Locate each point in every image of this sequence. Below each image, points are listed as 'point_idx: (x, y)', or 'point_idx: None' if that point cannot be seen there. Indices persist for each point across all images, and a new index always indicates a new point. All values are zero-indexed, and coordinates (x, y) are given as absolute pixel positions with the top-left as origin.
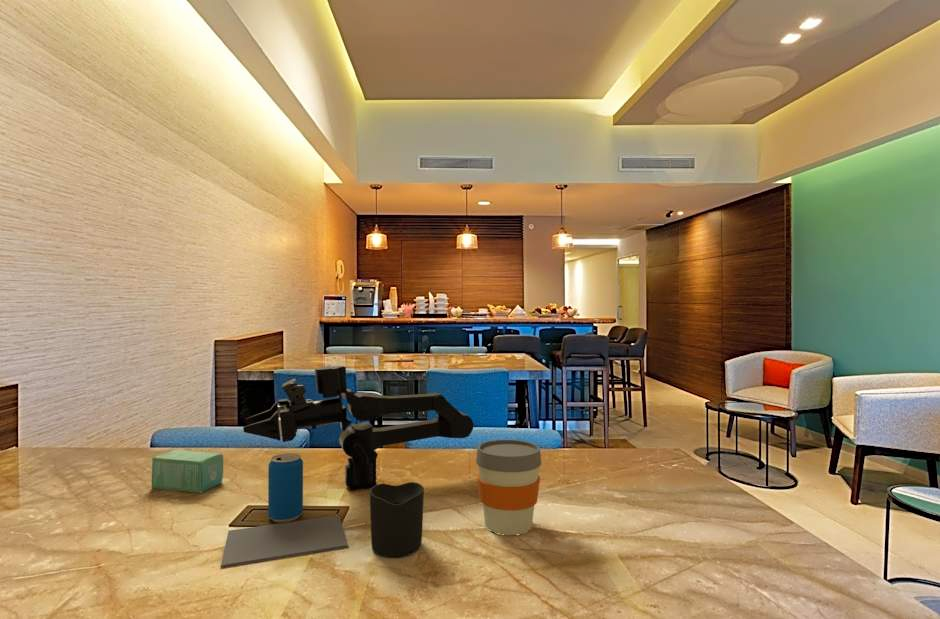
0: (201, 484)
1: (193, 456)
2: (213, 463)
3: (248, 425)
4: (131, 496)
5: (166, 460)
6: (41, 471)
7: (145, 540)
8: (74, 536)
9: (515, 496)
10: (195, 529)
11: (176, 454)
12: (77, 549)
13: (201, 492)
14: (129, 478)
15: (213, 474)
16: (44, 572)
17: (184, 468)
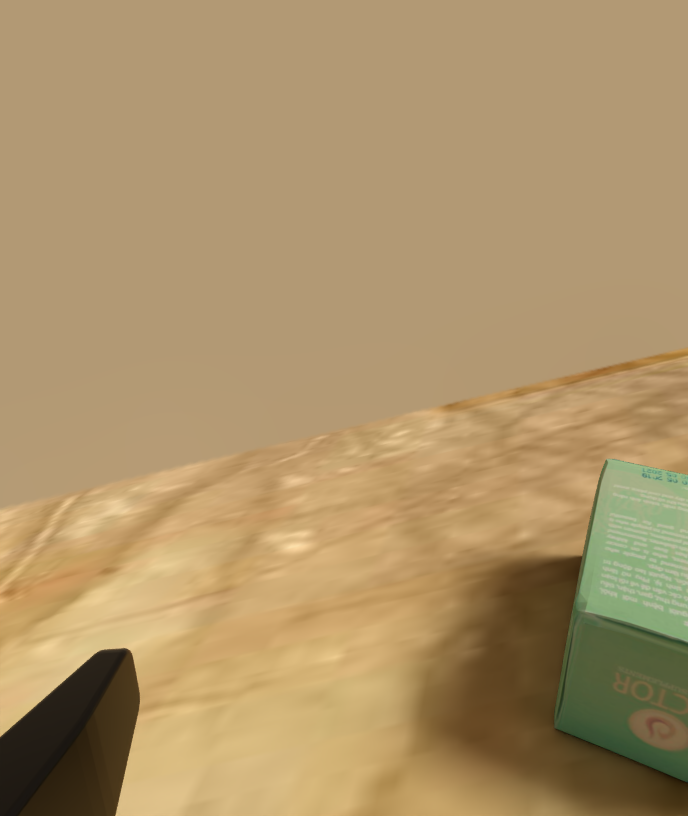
0: (559, 699)
1: (662, 560)
2: (677, 677)
3: (66, 694)
4: (512, 529)
5: (596, 496)
6: (668, 378)
7: (92, 653)
8: (241, 510)
9: None
10: None
11: (672, 502)
12: (149, 534)
13: (556, 728)
14: None
15: (657, 724)
16: (57, 524)
17: (580, 574)
